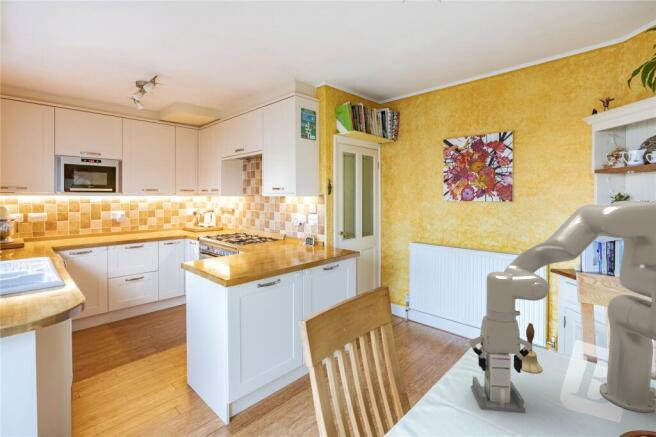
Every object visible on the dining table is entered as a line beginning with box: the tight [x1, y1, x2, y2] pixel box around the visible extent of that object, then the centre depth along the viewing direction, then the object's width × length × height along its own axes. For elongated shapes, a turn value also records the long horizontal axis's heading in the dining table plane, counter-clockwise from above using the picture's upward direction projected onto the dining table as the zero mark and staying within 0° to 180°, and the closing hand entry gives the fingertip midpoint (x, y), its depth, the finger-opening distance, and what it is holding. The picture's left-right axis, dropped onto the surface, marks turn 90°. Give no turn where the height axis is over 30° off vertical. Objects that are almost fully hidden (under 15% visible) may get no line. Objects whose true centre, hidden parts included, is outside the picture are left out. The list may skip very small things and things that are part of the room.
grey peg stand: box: [470, 376, 526, 414], centre depth 98 cm, size 12×10×6 cm
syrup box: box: [483, 353, 512, 403], centre depth 97 cm, size 6×6×14 cm
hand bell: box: [521, 322, 543, 374], centre depth 115 cm, size 8×8×16 cm
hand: (499, 369), depth 97 cm, fingers open, 9 cm apart
